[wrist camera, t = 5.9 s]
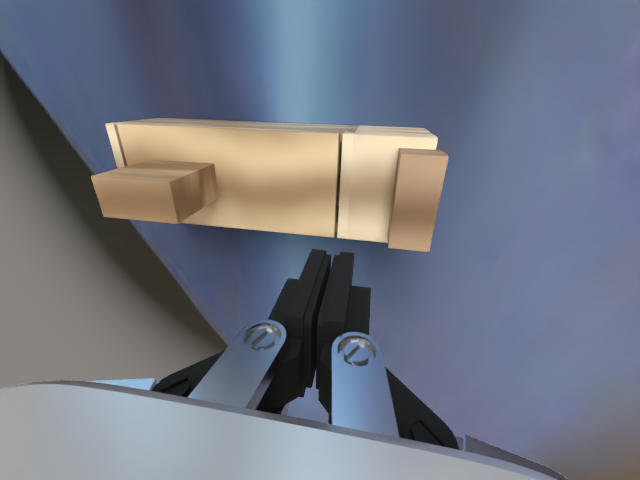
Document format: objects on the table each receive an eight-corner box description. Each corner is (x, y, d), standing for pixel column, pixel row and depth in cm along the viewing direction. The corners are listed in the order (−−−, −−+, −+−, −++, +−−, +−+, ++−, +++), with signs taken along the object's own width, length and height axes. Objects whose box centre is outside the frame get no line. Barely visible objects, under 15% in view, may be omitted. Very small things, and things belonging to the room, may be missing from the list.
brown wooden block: (398, 148, 22) (400, 154, 20) (441, 150, 21) (448, 156, 19) (387, 234, 25) (388, 247, 23) (424, 237, 24) (428, 252, 22)
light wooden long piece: (160, 117, 32) (105, 123, 25) (424, 128, 28) (437, 138, 21) (176, 195, 35) (131, 218, 29) (410, 214, 31) (417, 245, 25)
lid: (127, 122, 26) (45, 132, 20) (340, 131, 23) (325, 145, 17) (150, 214, 30) (87, 247, 24) (335, 231, 27) (322, 274, 21)
